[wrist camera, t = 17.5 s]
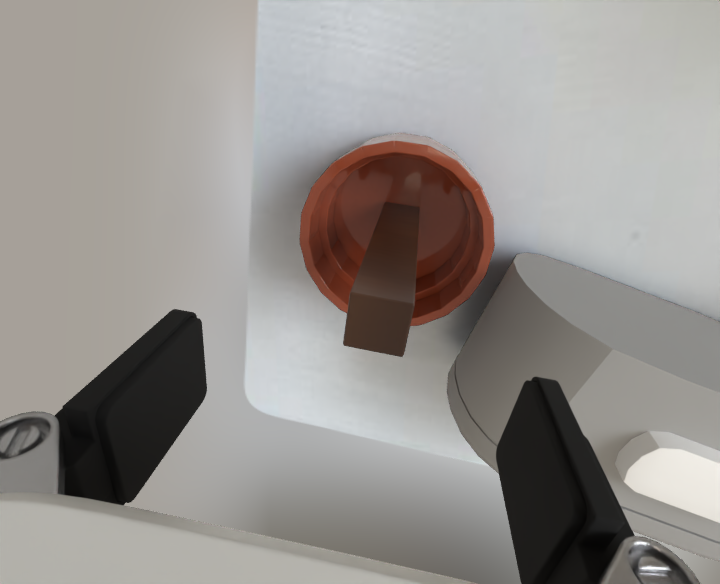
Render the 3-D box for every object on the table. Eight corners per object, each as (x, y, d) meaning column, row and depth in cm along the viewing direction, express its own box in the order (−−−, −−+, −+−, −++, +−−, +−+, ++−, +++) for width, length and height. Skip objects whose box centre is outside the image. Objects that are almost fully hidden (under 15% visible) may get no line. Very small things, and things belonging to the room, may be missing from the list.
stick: (379, 234, 28) (342, 346, 15) (384, 201, 27) (349, 292, 14) (413, 240, 27) (403, 358, 15) (419, 207, 26) (415, 304, 14)
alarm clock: (440, 339, 31) (449, 486, 20) (497, 233, 27) (553, 341, 15) (675, 427, 32) (824, 624, 20) (770, 337, 27) (1033, 521, 16)
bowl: (315, 275, 31) (295, 309, 26) (328, 120, 25) (305, 126, 21) (459, 301, 30) (465, 341, 25) (502, 147, 25) (521, 159, 20)
